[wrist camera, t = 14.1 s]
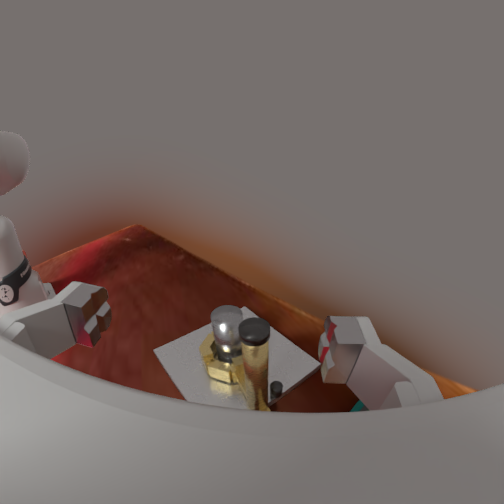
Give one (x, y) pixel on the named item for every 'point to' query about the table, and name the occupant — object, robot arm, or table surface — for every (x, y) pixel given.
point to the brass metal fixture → (244, 362)
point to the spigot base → (231, 392)
